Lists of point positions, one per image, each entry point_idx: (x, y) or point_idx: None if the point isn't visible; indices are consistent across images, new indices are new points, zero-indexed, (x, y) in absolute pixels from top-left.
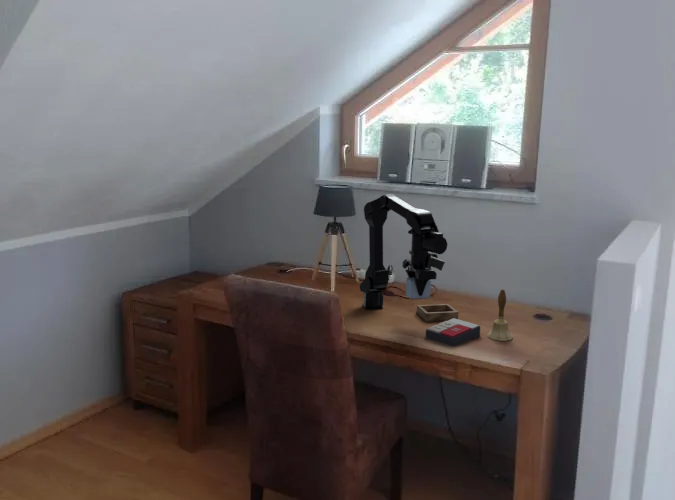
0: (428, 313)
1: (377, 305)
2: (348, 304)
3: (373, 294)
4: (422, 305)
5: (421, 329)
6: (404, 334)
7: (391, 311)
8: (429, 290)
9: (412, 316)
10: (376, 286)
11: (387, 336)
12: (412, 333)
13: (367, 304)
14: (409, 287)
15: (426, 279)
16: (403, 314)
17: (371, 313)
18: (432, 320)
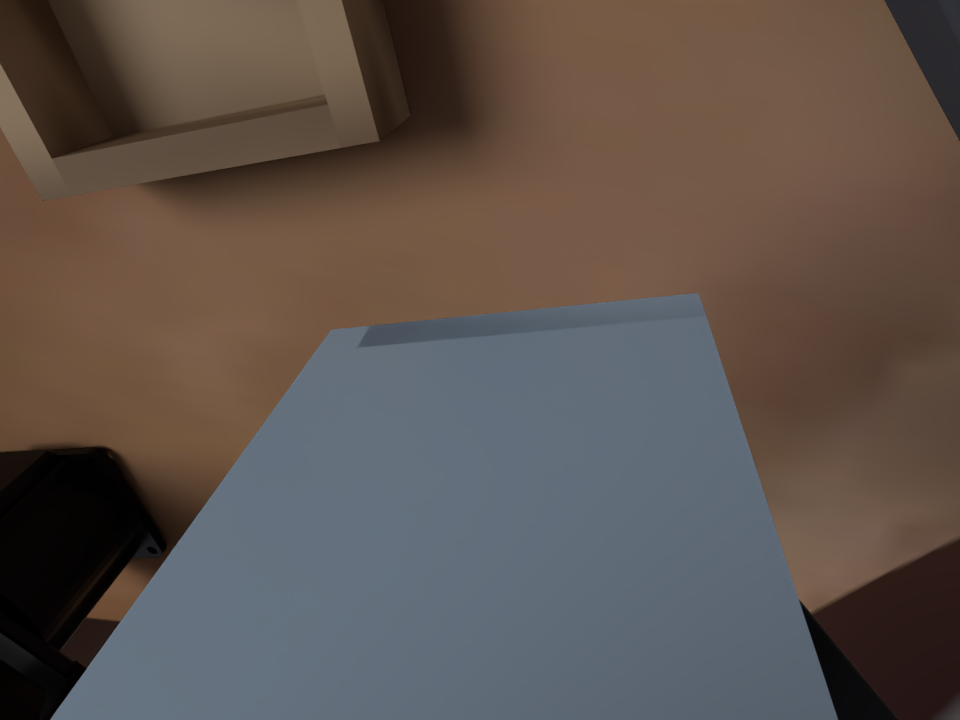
0: (368, 101)
1: (97, 500)
2: (92, 609)
3: (49, 614)
4: (18, 125)
5: (703, 221)
6: (833, 415)
7: (145, 395)
8: (736, 454)
9: (241, 236)
10: (10, 702)
11: (847, 543)
12: (823, 340)
13: (117, 562)
14: None
15: None
16: (200, 312)
17: None
18: (384, 16)
